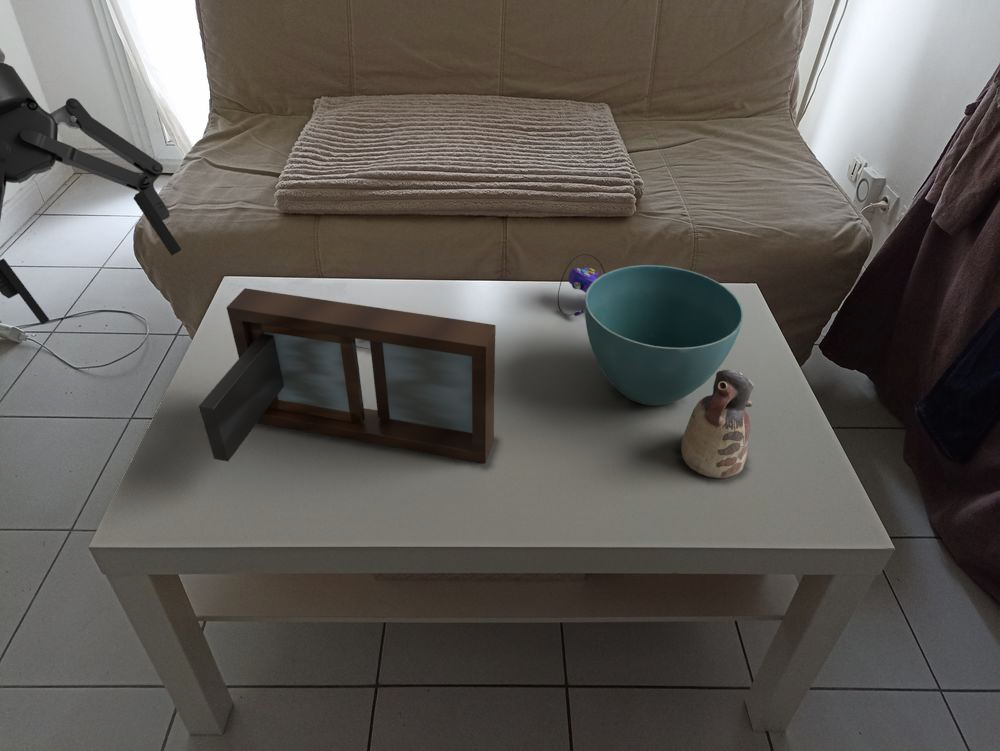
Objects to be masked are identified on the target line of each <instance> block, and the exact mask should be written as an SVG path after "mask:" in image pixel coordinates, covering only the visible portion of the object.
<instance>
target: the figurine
mask: <svg viewBox="0 0 1000 751" xmlns="http://www.w3.org/2000/svg"><path fill="white" fill-rule="evenodd" d="M754 387H755V386H754V384H753V382H752V381H751V380H750V379H749V378H747V377H746V376H745V375H744V374H743V373H742V372H741V371H740V370H736V369H722V370H717V371H716V372H715V379H714V382H713V386H712V394H711V395H706V396H703V397H702V398H701V399H700V400H699V401H698V402H697V403H696V405H695V407H694V408H693V410H692V413H691V416H690V417H689V420H688V421H687V422H688V423H687V425H686V427H685V430H684V433H683V435H682V438H681V445H680V449H681V456H682V458H683V460H684V462H685V464H686V465H687V466H688V467H689V468H690V469H691V470H692V471H694V472H696V473H698V474H699V475H703V476H704V477H705V476H706V477H709V478H713V479H727V478H730V477H734V476H736V475H738V474H739V473H740V472H741V471H742V470H743V469H744V466H745V464H746V462H747V459H748V454H749V441H750V434H751V422H750V417H749V414H748V413H747V412H746V408H750V407H752V406H753V402H752V401H750V397H751V393H752V391H753V389H754Z"/></svg>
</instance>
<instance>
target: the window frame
mask: <svg viewBox="0 0 1000 751" xmlns="http://www.w3.org/2000/svg"><path fill="white" fill-rule="evenodd" d="M226 311H227V316H228V319H229V323H230V324H229V325H230V327H231V328H230V329H231V331H232V336H233V340H234V343H235V348H236V352H237V357H238V359H239V358H240V357H241V356H242V355H243V354H244V352H245V351H246V350H247V349H248V348H249V347H250V345H251V344H252V343H253V342H254V339H253V335H252V330H251V326H250V322H252V323H258V324H265V325H271V326H278V327H284V328H291V329H297V330H304V331H310V332H316V333H323V334H329V335H336V336H342V337H349V338H355V339H362V340H368V341H370V348H371V349H370V356H371V366H372V374H373V381H374V382H373V384H374V392H375V399H376V400H375V401H376V409H371V408H365V407H364V414H365V420H364V422H363V424H359V423H354V422H349V421H343V420H337V419H332V418H326V417H320V416H315V415H309V414H303V413H297V412H292V411H286V410H280V409H274V408H269V407H268V409H267V410H266V411H265V413H264V414H263V415H262V417H261V418H260V419H259V421H258V422H257V423H256V424H262V425H263V424H264V425H269V426H275V427H279V428H286V429H291V430H297V431H302V432H308V433H312V434H313V433H314V434H319V435H324V436H329V437H330V436H331V437H334V438H335V437H336V438H342V439H347V440H351V441H352V440H353V441H357V442H364V443H369V444H375V445H379V446H385V447H390V448H391V447H392V448H397V449H402V450H409V451H414V452H419V453H424V454H430V455H435V456H441V457H448V458H453V459H458V460H459V459H460V460H464V461H469V462H475V463H479V464H480V463H481V464H486V463H487V460H488V457H489V454H490V451H491V449H492V447H493V444H494V443H493V442H494V440H495V392H496V391H495V390H496V388H495V386H496V381H495V380H496V375H495V374H496V327H497V325H496V324H493V323H486V322H478V321H473V320H472V321H471V320H465V319H458V318H452V317H446V316H445V317H443V316H439V315H438V316H437V315H430V314H424V313H417V312H411V311H410V312H409V311H403V310H397V309H391V308H390V309H389V308H384V307H375V306H370V305H369V306H368V305H362V304H355V303H350V302H341V301H335V300H330V299H329V300H328V299H322V298H315V297H307V296H300V295H294V294H287V293H280V292H274V291H267V290H259V289H253V288H247V287H246V288H243V289H242V291H241V292H240V293H239V294H238V295H236V297H234V299H233V300H232V301H231V302H230V303H229V304H228V305H227V306H226Z"/></svg>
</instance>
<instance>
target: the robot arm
mask: <svg viewBox="0 0 1000 751" xmlns="http://www.w3.org/2000/svg"><path fill="white" fill-rule="evenodd" d="M5 60H6V54H5V53H4V51H3V50H2V49H1V48H0V221H1V219H2V213H3V206H4V200H5V194H6V189H7V183H11V184H16V183H17V184H21V183H24V182H27V181H28V180H29V179H30V178H31V177H33V176H34V175H37V174H44V173H46V172H48V171H50V170H52V168H53V167H54V166H55V164H56V162H58V163H61V164H64V165H66V166H70V167H71V166H72V167H73V168H76V169H78V170H82V171H84V172H87V173H90V174H92V175H94V176H97V177H100V178H102V179H105V180H108V181H110V182H112V183H115V184H118V185H121V186H124V187H125V188H129V189H131V190H134V191H136V192H137V193H135V194H134V197H133V201H134V202H135V203H136V205H137V206H138V208H139V210H141V212H142V213H143V215H144V216H145V218H146V220H147V221H148V223H149V224H150V226H151V227H152V229H153V231H154V232H155V234H156V235H157V236H158V238H159V239H160V241H161V242H162V243H163V245H164V247H165V248H166V250H167V251H168V253H169V254H170V256H174V255H176V254H177V253H179V252H180V251H182V248H181V246H180V245H179V243H178V241H177V240H176V239H175V237H174V236H173V234H172V233H171V231H170V229H169V228H168V226H167V225H166V224H165V222H164V221H165V220H166V219H168V218H170V216H171V215H170V211H169V209H168V207H167V205H166V203H165V202H164V201H163V200H162V197H161V196H160V195H159V193H158V192H157V190H156V189H155V185H154V184H155V182H156V181H157V180H158V179H159V177H160V176H161V175H162V173H163V172H164V166H163V165H162V164H161V163H160V161H157V160H156V159H155V158H154V157H152V156H150V155H148V154H147V153H146V152H144V151H143V150H141V149H139V148H138V147H137V146H135V145H134V144H132V143H131V142H129V141H128V140H126V139H125V138H123V137H122V136H120V135H119V134H118V133H116V132H114V131H113V130H112V129H110V128H108V126H106V125H104V124H103V123H102V122H99V121H98V120H96V119H95V118H94V117H92V116H91V114H90V113H89V112H88V111H87V109H86V108H85V107H84V106H83V105H82V103H81V102H80V100H78V99H77V98H74V97H70V98H68V99H66V102H65V104H64V105H62V106H61V107H58V108H57V109H55V110H53V111H52V112H50V113H49V112H48V111H46V110H45V109H43V108H42V106H40V105H39V103H38V102H37V100H36V99H35V97H34V95H33V94H32V92H31V91H30V90H29V88H28V87H27V85H26V84H25V82H24V81H23V79H22V78H21V76H20V75H19V74H18V72H17V71H16V69H15V68H14V67H13V66H12V65H10V64H7V63H6V62H5ZM60 125H64V126H67V127H68V128H69V129H71V130H78V129H79V130H80V131H81V132H82V133H83V134H85V135H86V136H87V137H89V138H90V139H92V140H93V141H95V142H97V143H98V144H100V145H101V146H103V147H104V148H106V149H107V150H109V151H110V152H111V153H113V154H115V155H116V156H118V157H120V158H121V159H122V160H124V161H126V162H127V163H128V164H130V165H132V166H133V167H135V168H136V169H137V170H139V171H140V172H142V173H141V174H140V173H138V172H135V171H133V170H130V169H128V168H126V167H123V166H121V165H118V164H115V163H113V162H110V161H108V160H105V159H102V158H100V157H97V156H95V155H92V154H90V153H87V152H85V151H82V150H80V149H78V148H76V147H75V146H72V145H70V144H67V143H65V142H62V141H60V140H58V133H59V126H60ZM0 294H1V295H2V296H4V297H6V298H7V299H11V298H13V297H15V296H17V295H19V296H20V298H21V299H22V300H23V301H24V303H25V304H26V305H27V307H28V308H29V309H30V311H31V312H32V313H33V315H34V316H35V317H36V319H37V321H39V323H40V324H41V325H44V324H47V323H48V322H50V321H51V319H50V318H49V317H48V316H47V314H46V313H45V311H44V310H43V309H42V307H41V306H40V304H38V302H37V301H36V299H35V298H34V297H33V295H32V294H31V293H30V291H29V290H28V289H27V287H26V286H25V284H24V283H23V282H22V280H21V279H20V278H19V277H18V275H17V273H16V272H15V271H14V270H13V269H12V267H11V266H10V264H8V262H7V260H6V259H5V258H1V259H0Z"/></svg>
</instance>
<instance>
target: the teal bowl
mask: <svg viewBox="0 0 1000 751" xmlns="http://www.w3.org/2000/svg"><path fill="white" fill-rule="evenodd" d="M603 274H604V273H603ZM601 275H602V274H601ZM601 275H600V276H597V279H596V280H595V281H593V282H592V284H591V285H590V286H589V288H588V290H587V292H585V295H584V317H585V319H584V320H585V328H586V332H587V336H588V341H589V345H590V347H591V350H592V353H593V355H594V358H595V360H596V362H597V364H598V366H599V368H600V369H601V371H602V373H603V375H605V377H606V378H607V379H608V381H609V382H610V383H611V385H613V387H614V388H615V389H616V390H617V391H618V392H619V393H620V394H621V395H623V396H624V397H625V398H627V399H628V400H630V401H632V402H635V403H637V404H640V405H645V406H652V407H653V406H665V405H670V404H672V403H675V402H678V401H679V400H681V399H684V398H685V397H687V396H688V395H691V394H692V393H693V392H695V391H697V390H698V389H699V388H701V387H702V386H703V385H704V384H705V383H706V382H707V381H709V380H710V379H711V377H713V375H714V374H716V373H717V371H718V370H719V369H720V367H721V366H722V364H723V363H724V361H725V360H726V359H727V357H728V355H729V354H730V352H731V350H732V348H733V346H734V345H735V343H736V340H737V338H738V336H739V333H740V331H741V327H742V324H743V321H744V309H743V306H742V304H741V302H740V301H739V299H738V297H737V296H736V295H735V294H734V293H733V292H732V291H731V290H730V289H728V288H727V287H726V286H725V285H724V284H722V283H720V282H719V281H717V280H714V279H712V278H710V277H708V276H706V275H704V274H701V273H698V272H695V271H692V270H689V269H683V268H680V267H674V266H669V265H668V266H667V265H656V264H640V265H639V264H638V265H632V266H625V267H619V268H616V269H613V270H611V271H608V272H605V274H604V275H602V276H601Z"/></svg>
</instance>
